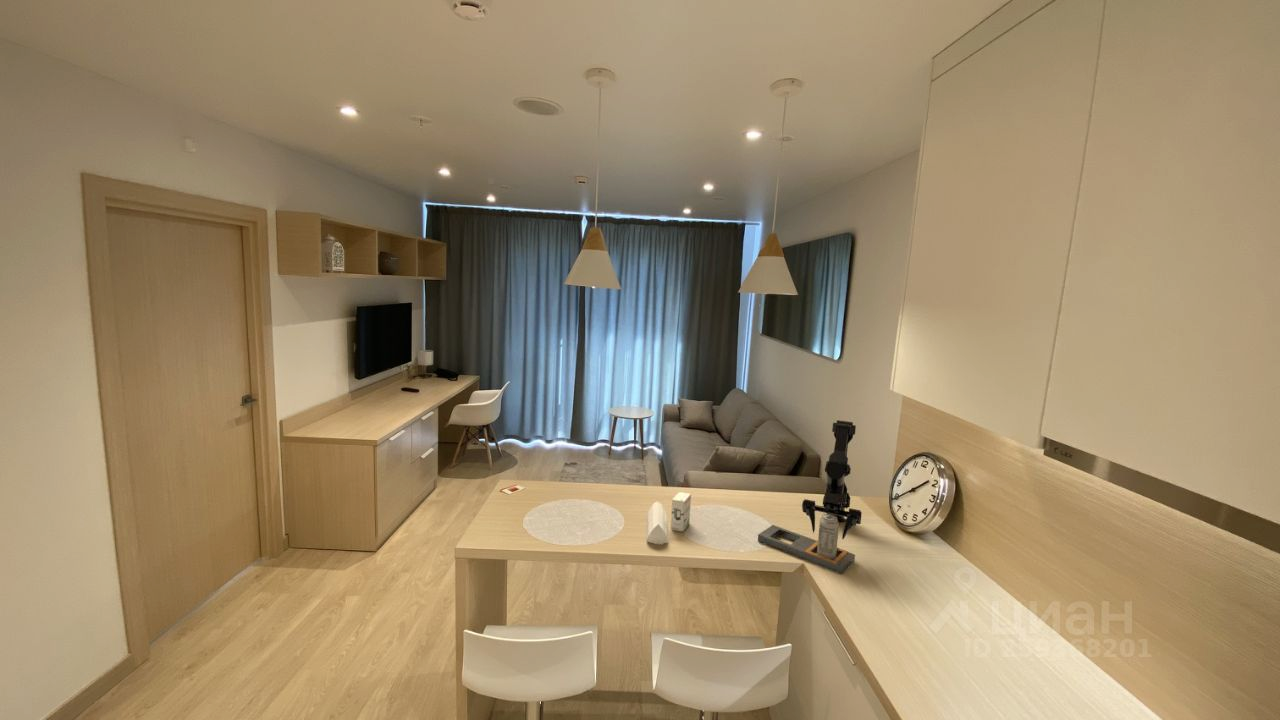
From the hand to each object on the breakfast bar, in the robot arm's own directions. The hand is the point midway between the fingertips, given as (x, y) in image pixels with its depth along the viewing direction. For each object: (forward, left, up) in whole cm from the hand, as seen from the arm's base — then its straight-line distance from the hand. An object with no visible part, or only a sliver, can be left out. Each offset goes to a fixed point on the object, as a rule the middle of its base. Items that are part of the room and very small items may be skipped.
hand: (827, 535), depth 169 cm
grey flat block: (+1, -8, -9) cm, 12 cm away
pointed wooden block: (+41, -42, -10) cm, 59 cm away
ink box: (+31, -41, -9) cm, 53 cm away
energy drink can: (-1, -1, -9) cm, 9 cm away
